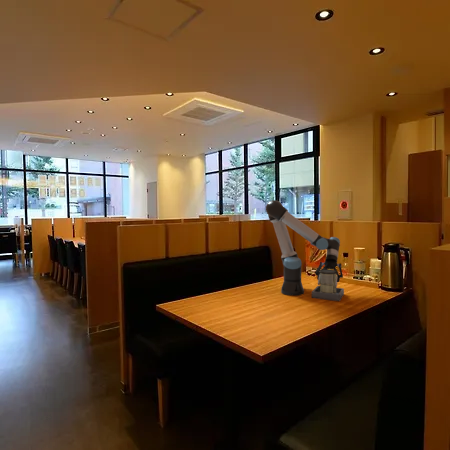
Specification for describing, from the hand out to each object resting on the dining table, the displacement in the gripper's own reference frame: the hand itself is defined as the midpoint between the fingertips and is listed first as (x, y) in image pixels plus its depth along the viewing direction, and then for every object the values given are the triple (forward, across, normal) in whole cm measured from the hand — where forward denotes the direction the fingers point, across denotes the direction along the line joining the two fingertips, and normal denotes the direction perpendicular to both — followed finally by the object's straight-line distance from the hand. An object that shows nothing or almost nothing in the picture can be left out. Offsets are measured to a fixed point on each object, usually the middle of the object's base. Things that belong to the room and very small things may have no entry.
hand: (327, 285), depth 203 cm
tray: (+4, 0, -8) cm, 8 cm away
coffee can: (+2, 0, -6) cm, 6 cm away
